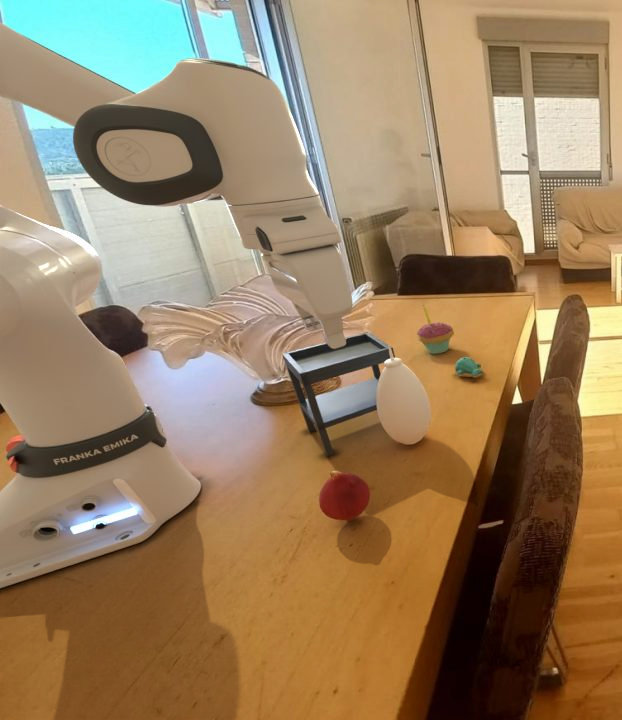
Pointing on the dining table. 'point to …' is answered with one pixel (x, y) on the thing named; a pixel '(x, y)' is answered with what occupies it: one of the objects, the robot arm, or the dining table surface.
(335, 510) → the onion
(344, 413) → the rack
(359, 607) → the dining table surface
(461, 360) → the teal animal figurine
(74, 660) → the dining table surface
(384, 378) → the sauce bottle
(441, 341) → the cupcake
